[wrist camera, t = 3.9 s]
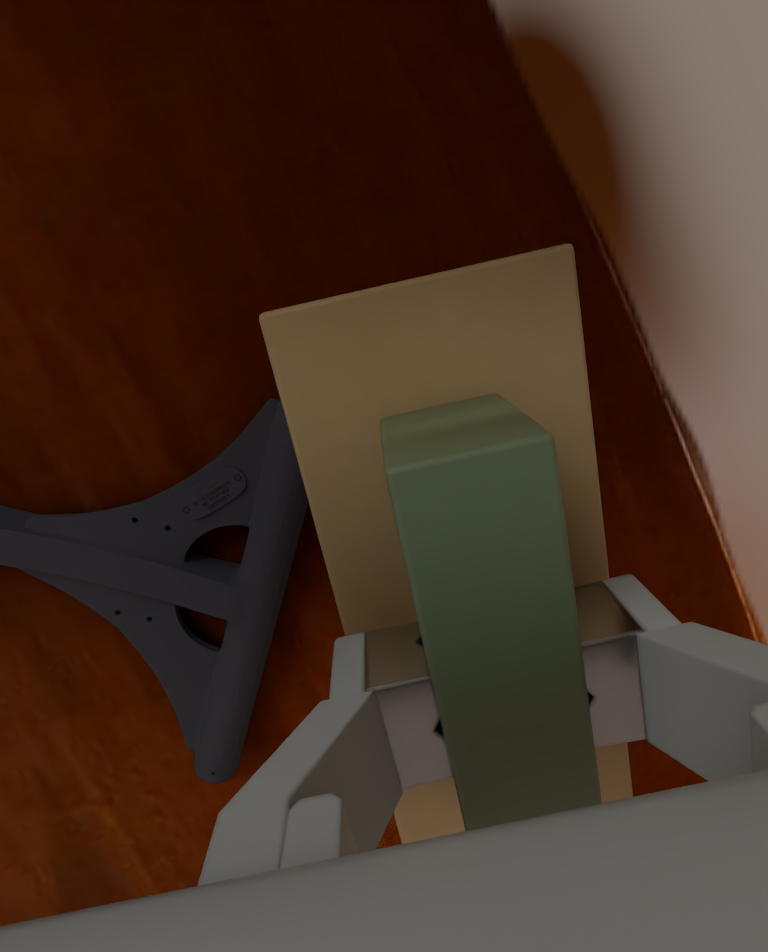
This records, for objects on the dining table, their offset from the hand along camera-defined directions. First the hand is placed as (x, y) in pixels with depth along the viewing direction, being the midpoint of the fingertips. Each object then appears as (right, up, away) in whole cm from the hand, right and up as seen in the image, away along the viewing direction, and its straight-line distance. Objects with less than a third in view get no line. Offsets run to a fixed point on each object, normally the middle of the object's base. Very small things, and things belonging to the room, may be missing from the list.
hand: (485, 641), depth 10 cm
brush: (0, +1, +4) cm, 5 cm away
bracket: (-12, +1, +10) cm, 16 cm away
